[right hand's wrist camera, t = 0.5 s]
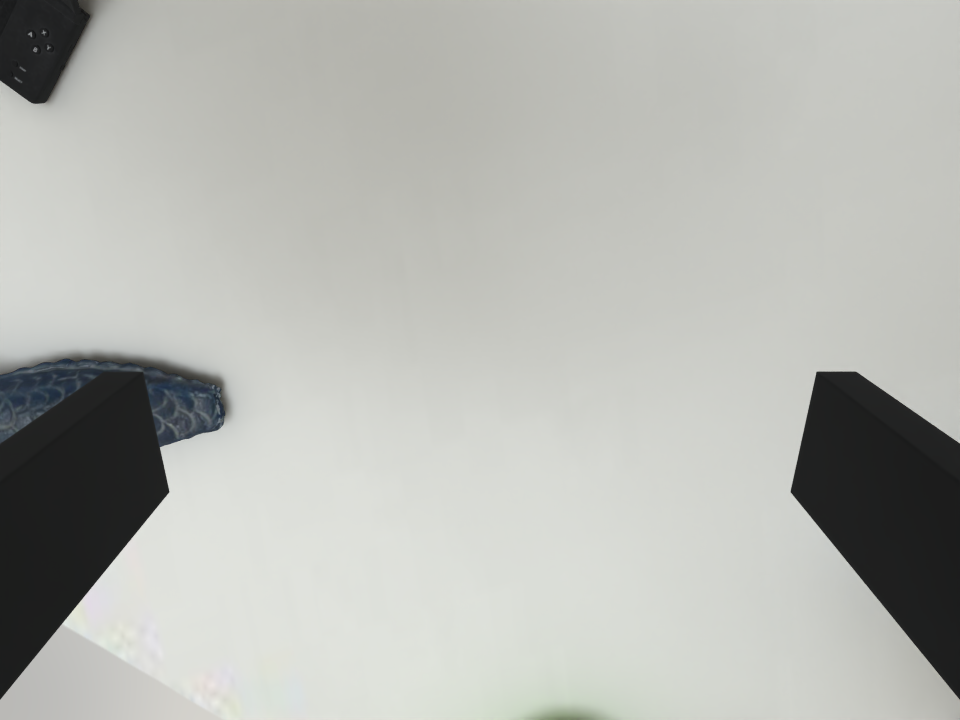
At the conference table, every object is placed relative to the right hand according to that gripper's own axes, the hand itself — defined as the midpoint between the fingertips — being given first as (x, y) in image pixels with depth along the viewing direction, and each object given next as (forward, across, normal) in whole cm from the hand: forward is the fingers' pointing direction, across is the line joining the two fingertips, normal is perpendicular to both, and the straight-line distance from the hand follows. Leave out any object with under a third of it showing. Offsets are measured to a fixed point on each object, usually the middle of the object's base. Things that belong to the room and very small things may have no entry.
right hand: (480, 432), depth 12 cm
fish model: (+28, -28, -13) cm, 41 cm away
